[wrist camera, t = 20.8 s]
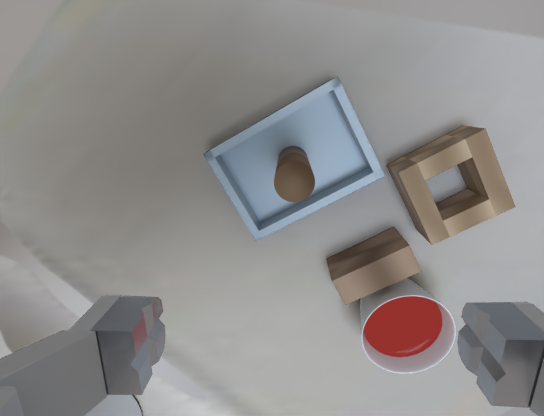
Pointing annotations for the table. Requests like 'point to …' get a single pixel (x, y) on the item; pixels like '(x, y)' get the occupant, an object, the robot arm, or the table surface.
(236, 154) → the tray
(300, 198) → the dowel
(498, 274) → the table surface
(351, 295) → the block
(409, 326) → the candle
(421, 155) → the socket block
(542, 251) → the table surface
